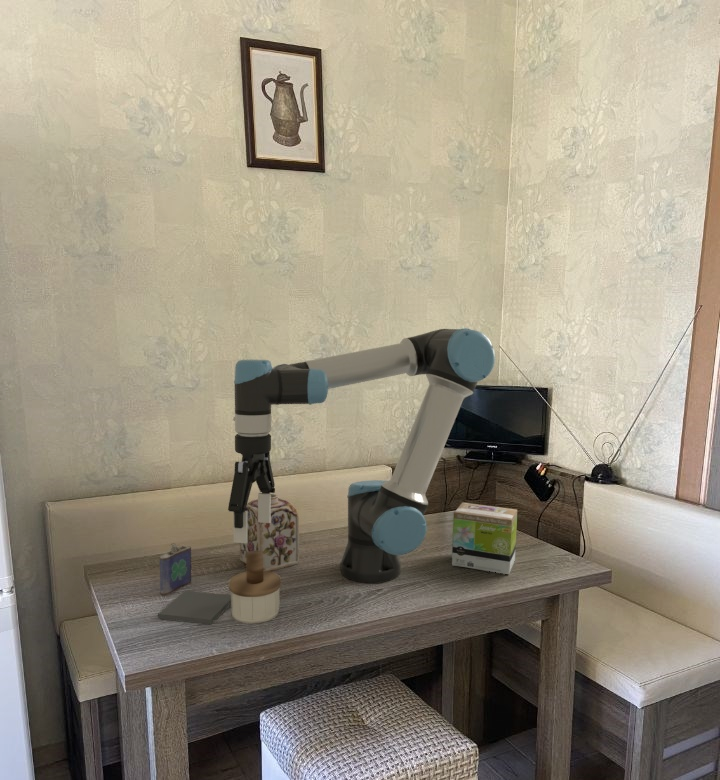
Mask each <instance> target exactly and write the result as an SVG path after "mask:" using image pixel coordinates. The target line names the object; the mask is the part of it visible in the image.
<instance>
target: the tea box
mask: <svg viewBox="0 0 720 780" xmlns="http://www.w3.org/2000/svg"><path fill="white" fill-rule="evenodd" d="M452 519H453V520H452V521H453V522H452V542H451V545H452V547H451V549H452V550H451V564H452V567H462V568H467V569H468V568H469V569H474V570H480V571H484V572H489V571H490V572H489V573H495V572H496V573H495V574H500V573H503V574H502V575H505V574H509V575H510V573H511V570H512V569H513V566H514V564H515V562H514V561H516V549H517V527H518V525H517V524H518V523H517V522H518V508H517V509H515V508H508V507H507V508H506V507H501V506H500V507H499V506H492V505H485V504H477V503H469V502H461V503H460V504H459V506H458V507H457V509H456V510H455V511H454V512H453V518H452Z"/></svg>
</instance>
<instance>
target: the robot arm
mask: <svg viewBox="0 0 720 780" xmlns="http://www.w3.org/2000/svg"><path fill="white" fill-rule="evenodd" d="M495 352H496V351H495V348H493V344H492V342H491V340H490V339H489V337H488V336H487V335H485V334H484V333H483V332H481V331H478V330H476V329H470V328H439V329H435V330H432V331H429V332H425V333H422V334H418V335H414V336H409V337H405V338H403V339H401V341H400V343H396V344H391V345H386V346H379V347H374V348H369V349H363V350H359V351H352V352H348V353H343V354H338V355H337V354H336V355H332V356H327V357H322V358H315V359H312V360H311V359H310V360H305V361H301V362H295V363H291V364H287V363H281V364H277V365H275V366H274V367H272V362H271V361H270V360H268V359H240V360H238V361H237V362H236V363H235V369H234V370H235V371H234V381H233V383H234V417H233V419H232V420H233V421H234V431H235V432H236V434H235V435H234V451H235V453H236V454H237V453H238V454H240V455H241V457H242V458H241V461H235V462H234V475H233V479H232V480H233V481H232V484H231V485H232V486H231V491H230V496H229V502H228V509H227V511H228V512H232V513H233V518H232V519H233V543H238V544H240V543H247V542H248V511H245V510H246V506H247V504H248V503H249V502H248V501H249V497H250V495H251V490H252V487H253V484H254V483H255V482H256V485H257V488H258V490H259V492H258V493H257V499H258V522H261V523H270V522H271V494H275V493H276V488H275V484H276V483H275V479H274V474H273V471H272V470H273V469H272V464H271V456H270V455H271V454H270V453H271V452H270V451H272V435H271V434H270V432H271V431H272V405H275V406H276V405H277V406H278V405H310V406H311V405H315V404H323V403H324V402H325V401H326V399H327V398H328V395H329V394H328V393H329V392H328V391H329V390H330V389H334V388H339V387H345V386H350V385H355V384H359V383H365V382H370V381H375V380H380V379H384V378H388V377H389V378H390V377H395V376H399V375H404V374H406V375H408V376H409V377H415V376H418V375H419V376H420V375H425V376H426V378H427V382H428V384H429V385H428V387H427V390H426V391H425V395H424V396H423V399H422V402H421V403H420V407H419V409H418V412H417V414H416V416H415V419H414V422H413V423H412V427H411V429H410V431H409V434H408V436H407V438H406V441H405V443H404V446H403V449H402V450H401V454H400V456H399V459H398V461H397V462H396V463H397V464H396V465H395V468H394V470H393V473H392V475H391V478H390V479H389V480H383V479H382V480H362V481H355V482H353V483H351V484H349V486H348V490H347V543H346V545H345V548H344V551H343V555H342V558H341V561H340V572H341V575H343V576H344V577H345V578H346V579H349V580H352V581H354V582H359V583H368V584H369V583H371V584H372V583H374V584H375V583H383V582H387V581H392V580H394V579H396V578H397V577H399V576H400V574H401V569H402V568H401V560H400V557H399V556H404V555H406V554H409V553H411V552H413V551H415V550H416V549H418V548H419V546H421V544H422V543H423V541H424V539H425V537H426V534H427V529H428V527H427V522H426V518H425V514H426V511H427V508H428V506H429V501H428V499H427V496H426V492H427V490H428V487H429V486H430V484H431V483H430V482H431V480H432V478H433V476H434V473H435V471H436V468H437V465H438V463H439V460H440V458H441V456H442V454H443V451H444V448H445V445H446V443H447V441H448V438H449V436H450V433H451V432H452V431H451V430H452V428H453V426H454V424H455V422H456V418H457V417H458V414H459V411H460V409H461V406H462V403H463V401H464V399H466V398H467V397H469V396H471V395H473V394H474V392H475V390H476V387H477V385H478V383H479V382H480V381H483V380H484V379H487V377H488V376H489V375H490V374H491V373H492V371H493V369H494V366H495V362H496V356H495V355H496V353H495Z"/></svg>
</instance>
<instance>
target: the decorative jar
mask: <svg viewBox="0 0 720 780" xmlns="http://www.w3.org/2000/svg"><path fill="white" fill-rule="evenodd" d="M270 494H271V522H270V523H261V522H258V498H257V499H252V500H251V501H249V502H247V506H246V510H245V511H248V542H247V543H239V558H240V559H239V560H240V562H242V563H244V564H246V553H247V552H249V551H262V552H263V571H269V572H274V571H278V570H281V569H285V568H287V567H288V568H289V567H291V566H294V565H295V566H296V565H298V564H299V558H300V529H299V528H300V523H299V522H300V518H299V512H298V511H297V509H296V507H295V506H294V504H293V503H292V501H289V500H288V499H284V498H280V497H279V496H278V495H277V494H275V493H270ZM278 497H279V498H278ZM284 567H285V568H284Z"/></svg>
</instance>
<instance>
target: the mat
mask: <svg viewBox="0 0 720 780" xmlns="http://www.w3.org/2000/svg"><path fill="white" fill-rule="evenodd" d="M229 606H231V594H226V593H225V594H224V593H213V592H204V591H194V590H184V591H183V592H182V593H181V594H179V595H178V596H177V597H176V598H175V599H173V601H172V602H170V603H169V604H168V605H167V606H166V607H165V608H163V609H162V610H161V611H159V612H158V619H159V620H169V621H170V620H171V621H177V622H178V621H179V622H188V623H196V624H197V623H198V624H205V625H212V624H213V623H214V622H215V621H216V620H217V619H218V617H219V616H221V614H223V613H224V611H225V610H226V609H228V607H229Z"/></svg>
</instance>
